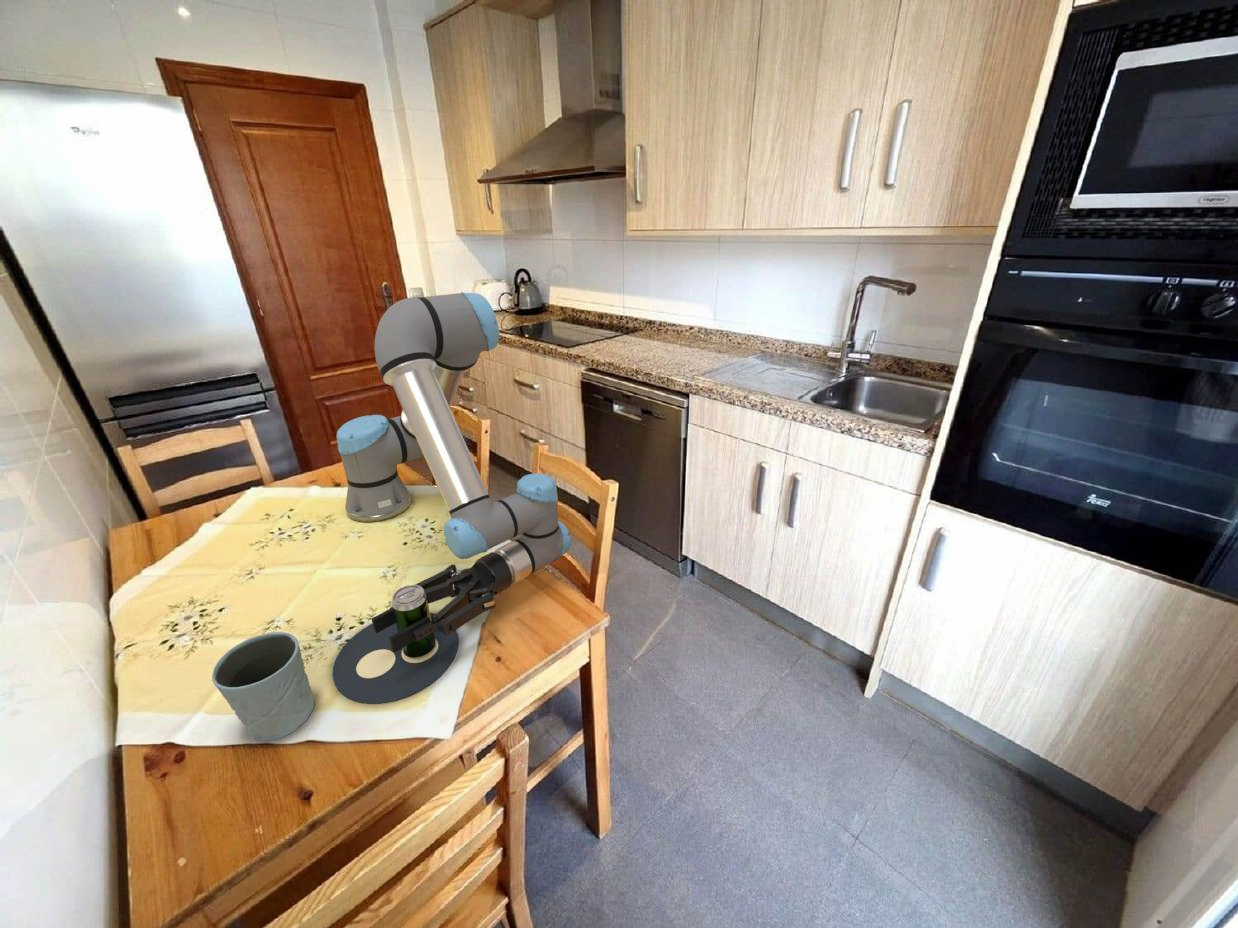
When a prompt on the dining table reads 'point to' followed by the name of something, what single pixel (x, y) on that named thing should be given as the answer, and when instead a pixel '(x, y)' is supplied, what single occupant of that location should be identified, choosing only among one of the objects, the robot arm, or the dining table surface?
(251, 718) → the gray plant pot
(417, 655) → the beer can
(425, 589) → the robot arm
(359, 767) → the dining table surface
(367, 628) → the spotted mat
